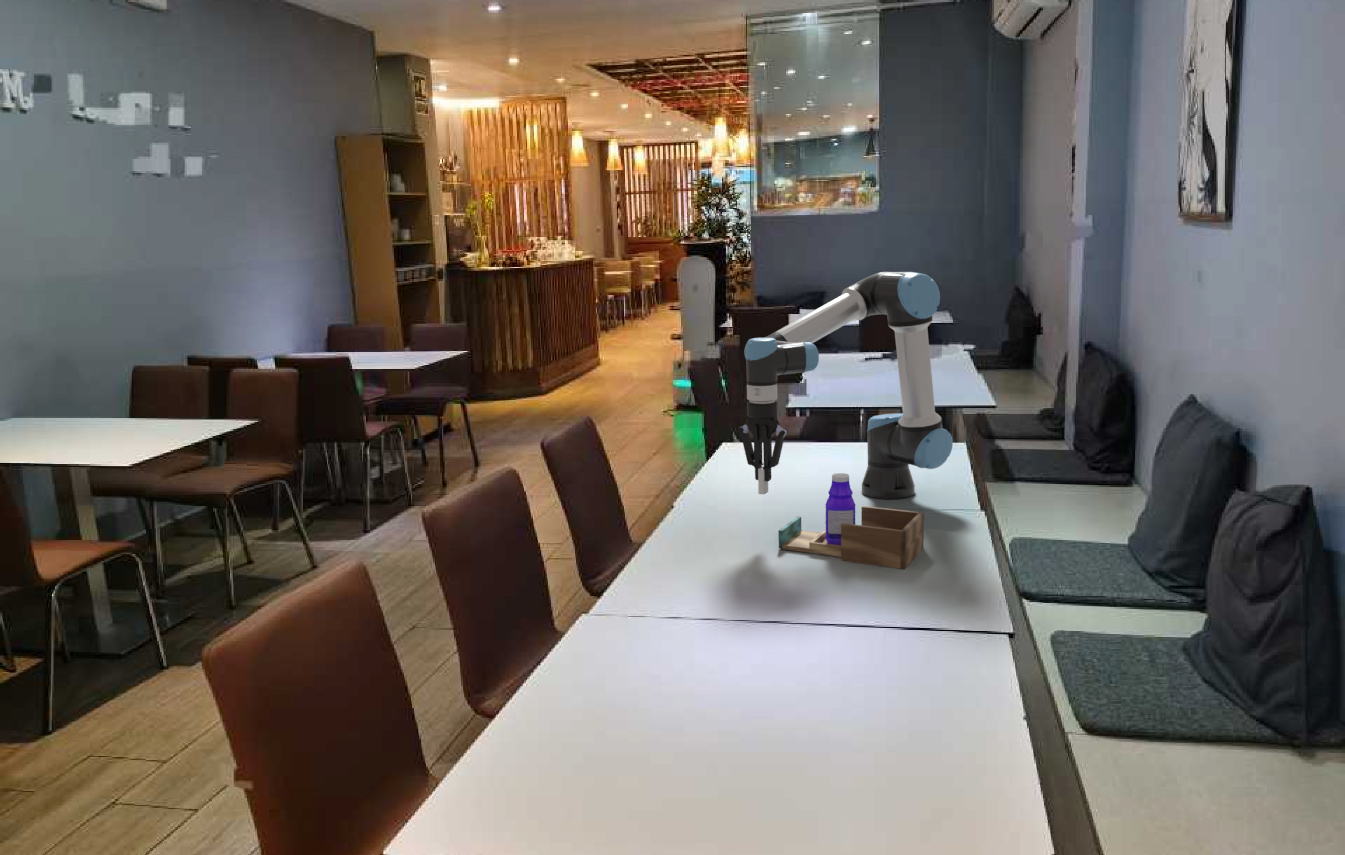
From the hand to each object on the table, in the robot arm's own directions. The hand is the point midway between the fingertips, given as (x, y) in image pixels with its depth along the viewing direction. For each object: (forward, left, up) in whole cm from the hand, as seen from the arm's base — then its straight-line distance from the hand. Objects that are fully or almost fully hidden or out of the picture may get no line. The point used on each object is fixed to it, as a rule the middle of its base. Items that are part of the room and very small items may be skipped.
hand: (763, 492), depth 243 cm
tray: (0, +17, -12) cm, 21 cm away
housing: (0, +31, -12) cm, 33 cm away
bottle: (0, +20, -11) cm, 23 cm away
